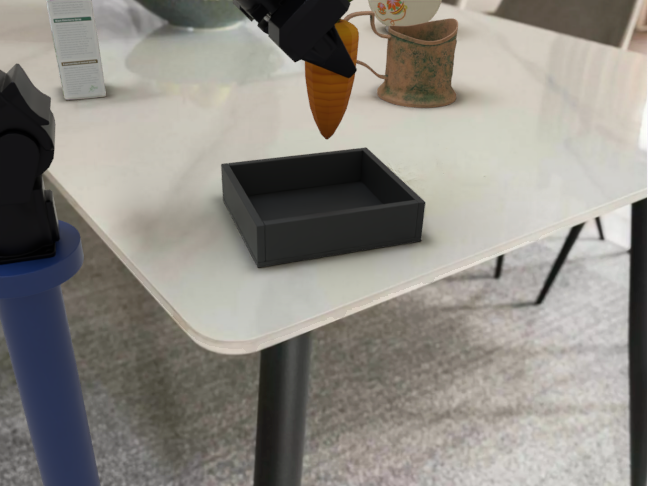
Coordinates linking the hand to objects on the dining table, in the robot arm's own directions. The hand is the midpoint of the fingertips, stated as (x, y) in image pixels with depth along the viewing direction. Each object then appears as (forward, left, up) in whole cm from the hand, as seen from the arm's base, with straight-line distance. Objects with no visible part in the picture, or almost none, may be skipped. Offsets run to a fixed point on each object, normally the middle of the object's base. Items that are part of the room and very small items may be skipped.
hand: (343, 66), depth 64 cm
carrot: (-1, 0, -7) cm, 7 cm away
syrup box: (-23, +41, -13) cm, 49 cm away
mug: (+20, +28, -13) cm, 37 cm away
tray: (-4, -5, -13) cm, 15 cm away
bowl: (+39, +66, -13) cm, 78 cm away
